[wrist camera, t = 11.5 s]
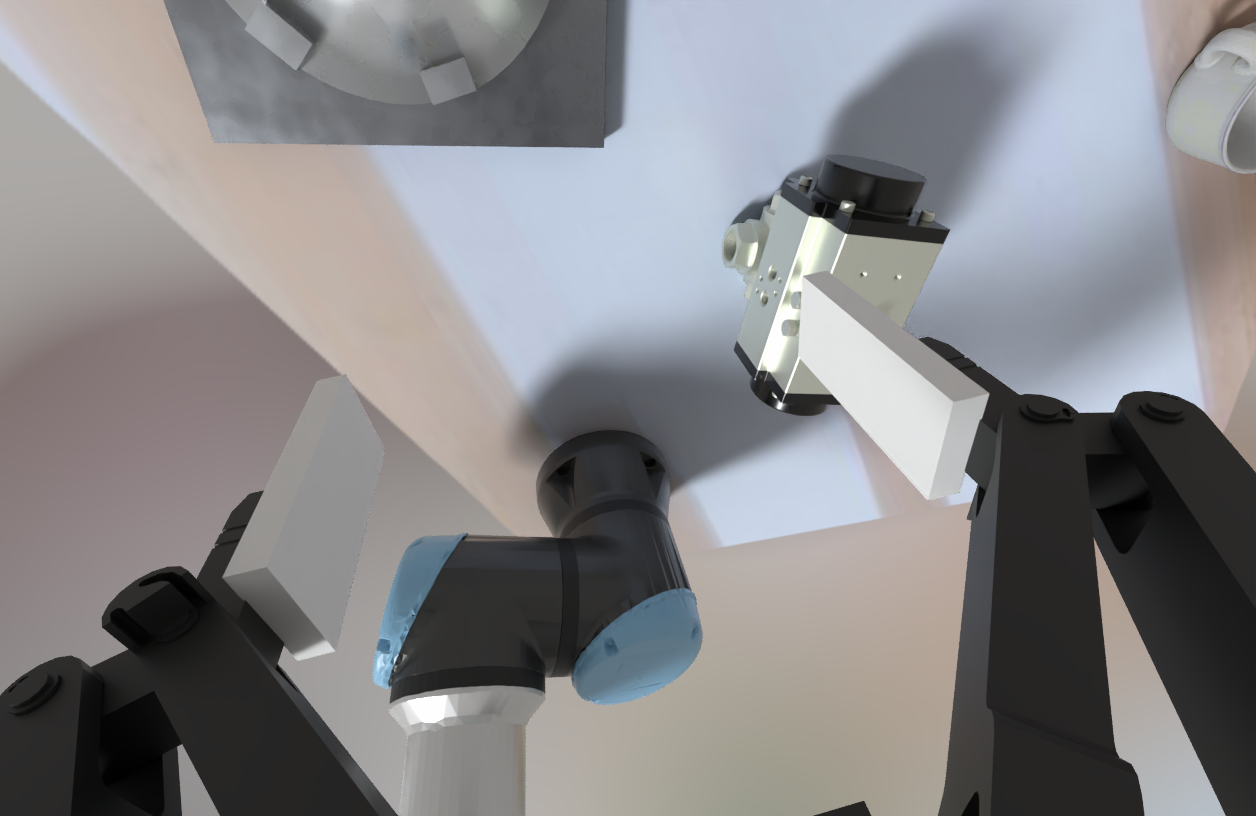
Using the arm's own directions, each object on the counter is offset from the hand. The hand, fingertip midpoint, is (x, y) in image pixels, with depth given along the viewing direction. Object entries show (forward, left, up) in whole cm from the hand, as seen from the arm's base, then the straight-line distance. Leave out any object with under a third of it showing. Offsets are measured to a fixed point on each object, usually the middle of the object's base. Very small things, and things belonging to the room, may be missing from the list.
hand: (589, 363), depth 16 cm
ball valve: (-8, -20, -33) cm, 39 cm away
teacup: (+6, -58, -33) cm, 67 cm away
